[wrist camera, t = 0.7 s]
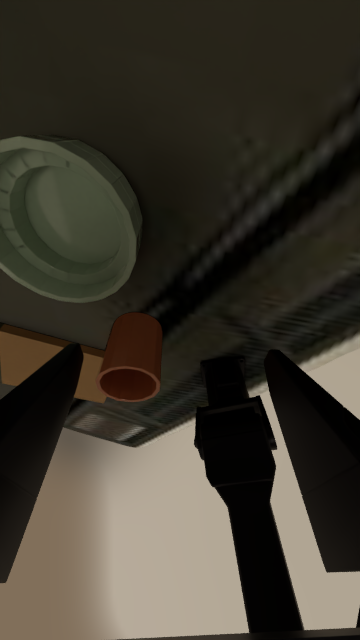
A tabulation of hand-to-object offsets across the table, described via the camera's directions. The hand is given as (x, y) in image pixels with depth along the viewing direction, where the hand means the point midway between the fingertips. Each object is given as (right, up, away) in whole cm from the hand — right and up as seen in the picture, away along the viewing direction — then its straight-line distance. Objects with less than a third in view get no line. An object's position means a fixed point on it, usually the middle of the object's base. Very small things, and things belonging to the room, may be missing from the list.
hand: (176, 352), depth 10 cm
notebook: (-18, -5, +22) cm, 29 cm away
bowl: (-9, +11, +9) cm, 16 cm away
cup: (-5, 0, +18) cm, 19 cm away
